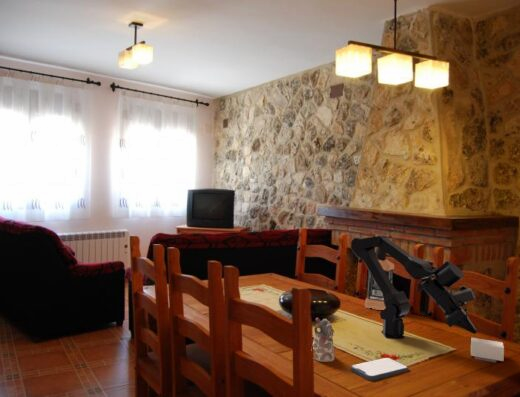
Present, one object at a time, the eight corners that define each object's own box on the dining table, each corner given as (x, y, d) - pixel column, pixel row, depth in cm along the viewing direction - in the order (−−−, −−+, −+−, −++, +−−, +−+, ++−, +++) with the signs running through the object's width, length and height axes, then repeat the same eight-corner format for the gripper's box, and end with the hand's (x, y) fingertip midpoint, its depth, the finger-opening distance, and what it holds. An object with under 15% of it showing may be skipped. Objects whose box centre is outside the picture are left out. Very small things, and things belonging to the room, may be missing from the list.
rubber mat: (474, 358, 134) (474, 357, 134) (474, 350, 141) (474, 349, 141) (496, 362, 131) (496, 361, 131) (494, 354, 138) (494, 352, 138)
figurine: (329, 363, 126) (330, 323, 126) (307, 358, 130) (308, 319, 130) (338, 356, 132) (339, 318, 132) (317, 351, 136) (318, 314, 136)
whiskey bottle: (393, 307, 193) (396, 236, 193) (387, 311, 185) (390, 238, 184) (371, 303, 199) (373, 234, 198) (364, 307, 190) (366, 236, 190)
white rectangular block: (471, 343, 135) (503, 348, 131) (471, 337, 140) (502, 342, 136) (470, 355, 135) (503, 361, 131) (470, 349, 140) (502, 354, 136)
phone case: (387, 361, 131) (348, 370, 123) (387, 356, 131) (348, 365, 123) (410, 372, 123) (370, 383, 115) (410, 367, 123) (370, 377, 115)
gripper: (458, 284, 131) (498, 326, 126) (459, 274, 147) (495, 310, 143) (430, 306, 134) (468, 347, 130) (434, 294, 151) (468, 330, 146)
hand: (475, 332), depth 137 cm, fingers closed
